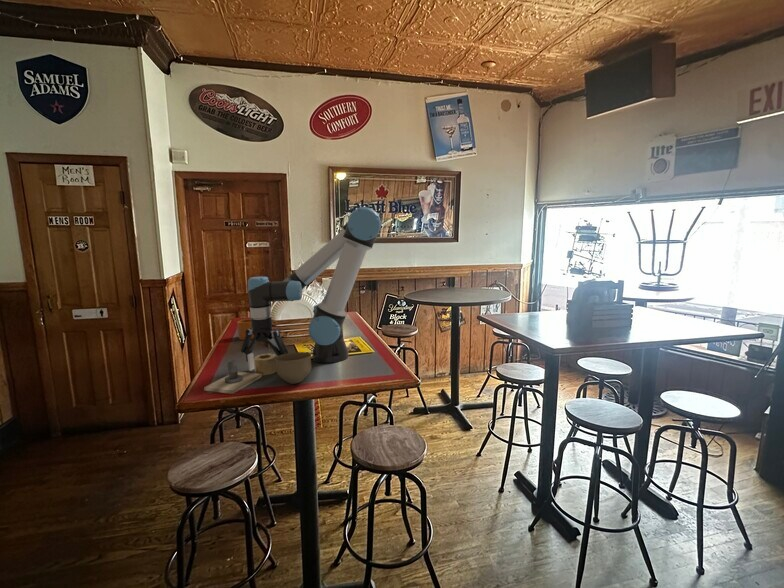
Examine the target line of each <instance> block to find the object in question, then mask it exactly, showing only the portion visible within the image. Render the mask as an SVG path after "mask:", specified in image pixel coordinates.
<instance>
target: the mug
mask: <svg viewBox="0 0 784 588" xmlns="http://www.w3.org/2000/svg"><path fill="white" fill-rule="evenodd" d="M251 319H252V318H246V319H240V320H238V321H237V325H236V326H237V331H238V339H239V340H241V341H242V340H243V341H244V339H245V336H246V330H248V329H250V328H251V329H252V330H253V328H252V326H251ZM253 338H254V335H253V334H252V337H251V340H252V339H253Z"/></svg>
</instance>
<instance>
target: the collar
mask: <svg viewBox="0 0 784 588" xmlns="http://www.w3.org/2000/svg"><path fill="white" fill-rule="evenodd" d="M276 357H277V354H276V353H260V354H258V355H254V357H253V358H254V368H255V369H254V373H256V374H262V376H268V375H274V374H275V373H277V366H276V360H275V358H276Z"/></svg>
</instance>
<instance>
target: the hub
mask: <svg viewBox="0 0 784 588" xmlns="http://www.w3.org/2000/svg"><path fill="white" fill-rule="evenodd" d="M227 370H228V371H227V372H228V374H227V375H225V376H224V377H222V378H219V379H217V380H216V381H213V382H212V383H210V384H208V385H206V386H204V389H203V390H204V391H206V392H214V393H222V394H230V395H233V394H235V393H237V392H239V391H240V390H242V389H244V388H245V387H247V386H249V385H250V384H252V383H255V382H256V381H257V380H259V379H261V378H263V377H262V376H263V375H262V374H256V373H255V372H243V371H238V364H237V360H229V361H227Z"/></svg>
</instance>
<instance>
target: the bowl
mask: <svg viewBox="0 0 784 588" xmlns="http://www.w3.org/2000/svg"><path fill="white" fill-rule="evenodd" d="M311 357H312V353H311V352H305V351H304V352H303V351H299V352H298V351H297V352H288V353H287V354H283V355H280V356H277V355H276V358H275V360H276V366H277V372H276V373H277V375H278V376H279V378H281V379H283V380H284V381H286V382H287V383H288V384H292V385H294V384H300V383H301V382H303V381H304V380H305V378H306V377H307V376H308V375H309V374H310V373H311V371H312V368H313V367H312V358H311Z"/></svg>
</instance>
